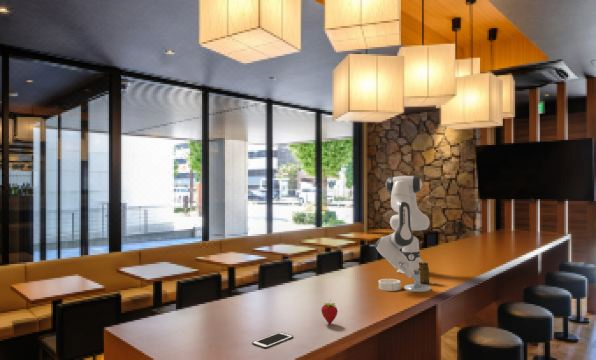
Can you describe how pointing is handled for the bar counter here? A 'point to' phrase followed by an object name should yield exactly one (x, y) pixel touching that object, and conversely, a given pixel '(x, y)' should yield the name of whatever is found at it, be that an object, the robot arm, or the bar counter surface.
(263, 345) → the cell phone
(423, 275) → the condiment
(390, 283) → the bowl
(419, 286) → the lid
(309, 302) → the bar counter surface
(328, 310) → the strawberry
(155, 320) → the bar counter surface
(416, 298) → the bar counter surface
